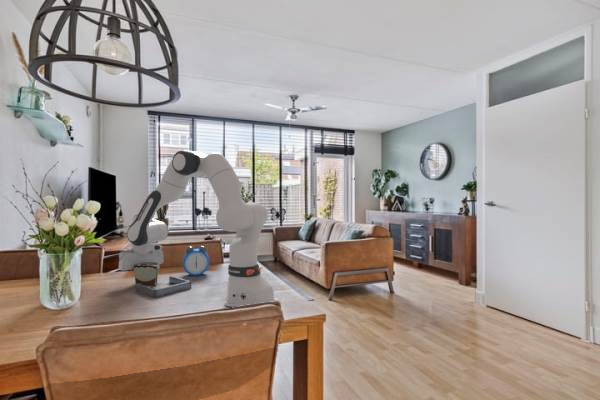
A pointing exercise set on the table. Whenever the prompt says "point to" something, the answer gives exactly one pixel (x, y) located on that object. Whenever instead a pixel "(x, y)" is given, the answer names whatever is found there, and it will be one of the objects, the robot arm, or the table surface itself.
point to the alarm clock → (196, 260)
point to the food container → (146, 273)
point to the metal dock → (180, 285)
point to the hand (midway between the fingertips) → (142, 276)
